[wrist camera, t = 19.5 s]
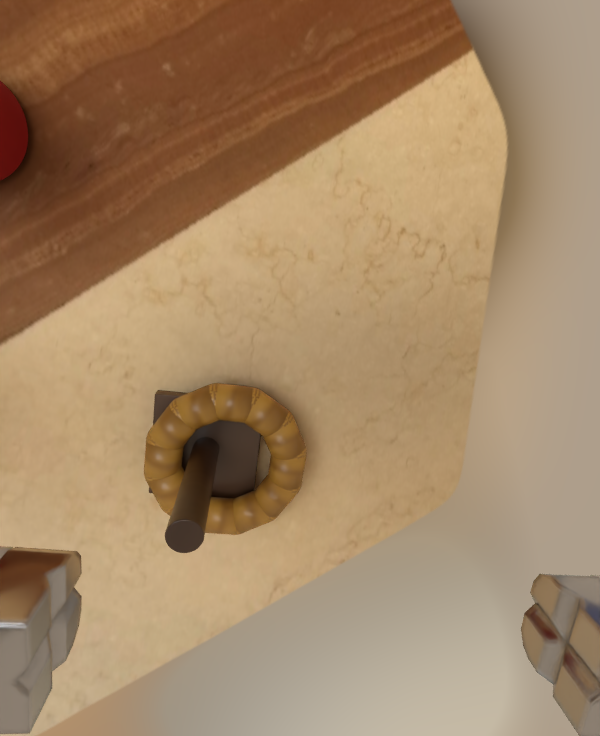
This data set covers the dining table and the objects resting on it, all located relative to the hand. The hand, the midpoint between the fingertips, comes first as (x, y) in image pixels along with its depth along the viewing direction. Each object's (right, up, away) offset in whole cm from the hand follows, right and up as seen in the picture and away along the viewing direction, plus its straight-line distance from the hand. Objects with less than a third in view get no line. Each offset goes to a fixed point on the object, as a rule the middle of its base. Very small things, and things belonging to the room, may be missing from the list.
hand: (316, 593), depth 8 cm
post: (-8, -2, +27) cm, 28 cm away
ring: (-6, -3, +25) cm, 26 cm away
